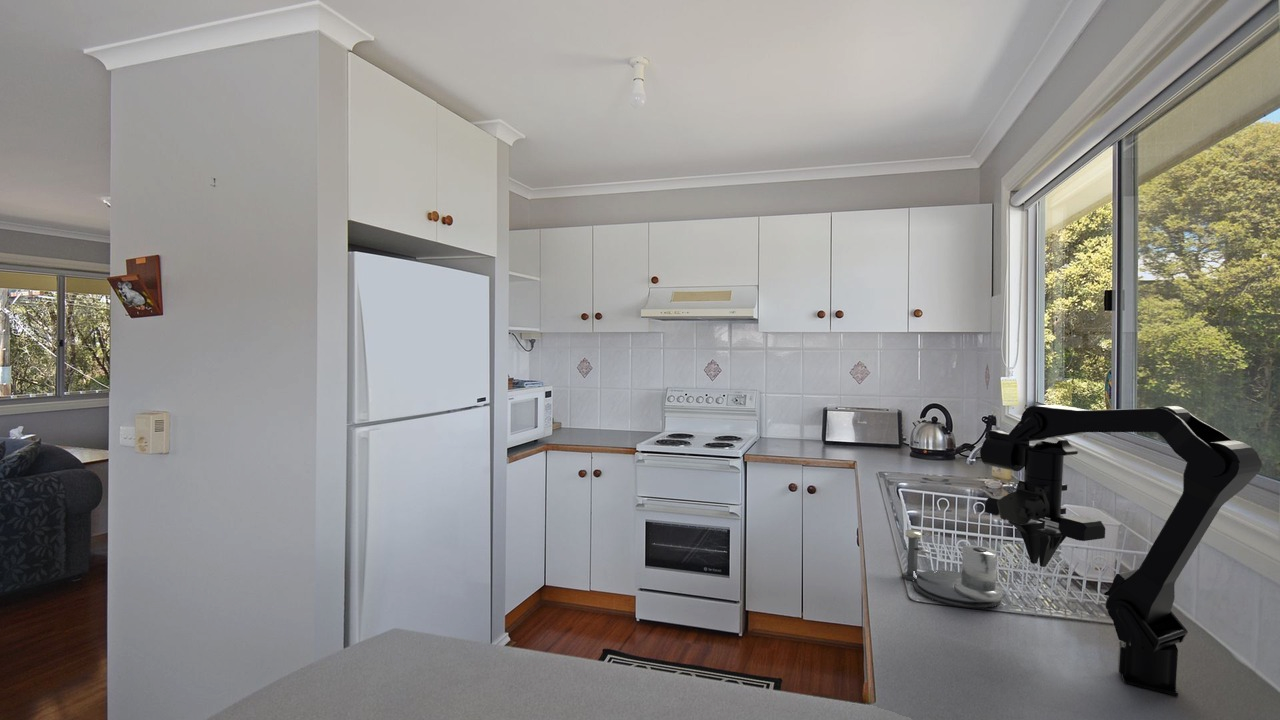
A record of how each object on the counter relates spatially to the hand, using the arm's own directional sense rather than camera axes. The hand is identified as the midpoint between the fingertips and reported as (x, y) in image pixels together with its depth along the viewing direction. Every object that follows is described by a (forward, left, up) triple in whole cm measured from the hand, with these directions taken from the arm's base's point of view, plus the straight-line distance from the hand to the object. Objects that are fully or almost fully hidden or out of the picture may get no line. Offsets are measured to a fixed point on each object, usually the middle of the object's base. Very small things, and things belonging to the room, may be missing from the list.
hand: (1038, 565), depth 116 cm
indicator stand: (+22, -15, -12) cm, 29 cm away
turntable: (+14, -12, -12) cm, 22 cm away
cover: (+10, -9, -10) cm, 17 cm away
